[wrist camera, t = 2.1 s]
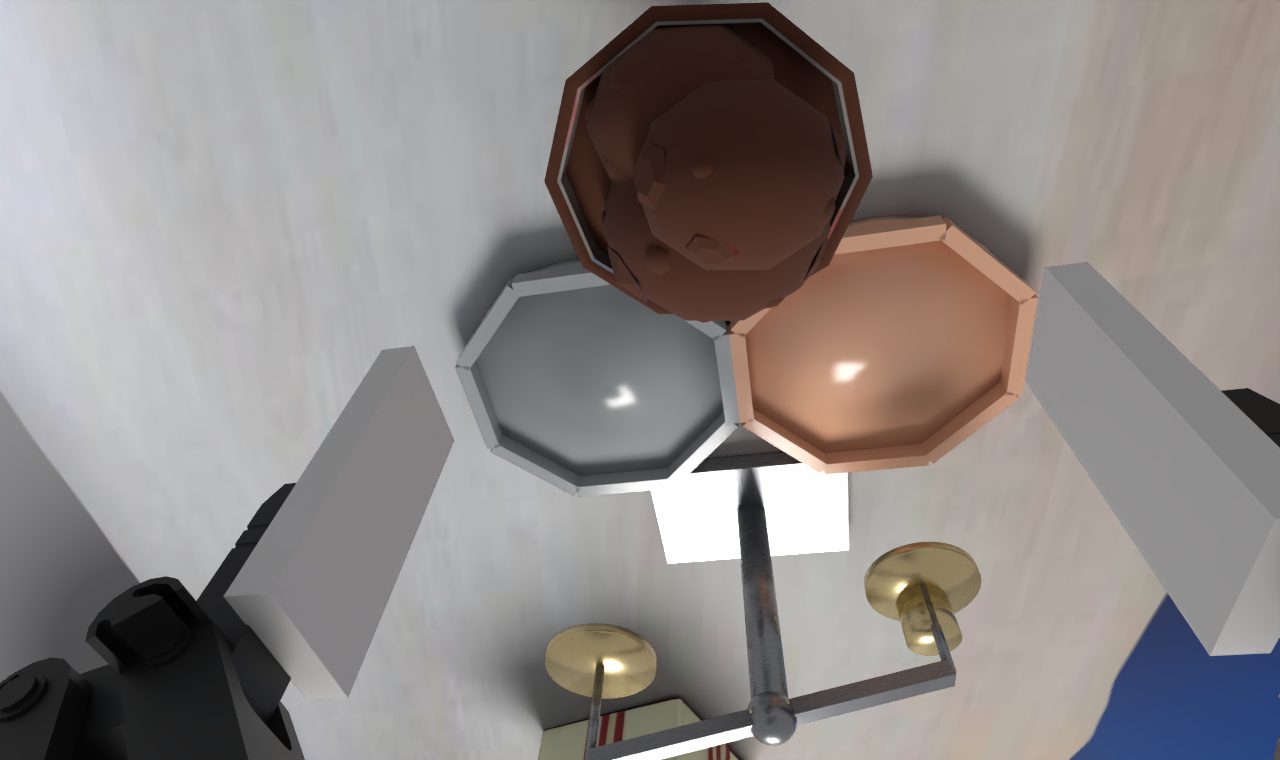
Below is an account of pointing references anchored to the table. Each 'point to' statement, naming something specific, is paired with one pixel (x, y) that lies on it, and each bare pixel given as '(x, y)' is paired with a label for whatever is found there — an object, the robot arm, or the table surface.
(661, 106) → the ice cream bowl
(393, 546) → the robot arm
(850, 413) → the terracotta dish
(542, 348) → the slate dish
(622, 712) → the gift box
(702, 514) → the balance
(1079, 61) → the table surface
